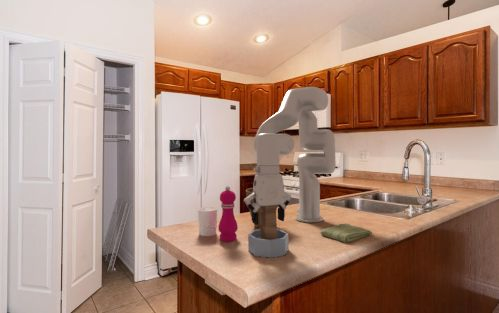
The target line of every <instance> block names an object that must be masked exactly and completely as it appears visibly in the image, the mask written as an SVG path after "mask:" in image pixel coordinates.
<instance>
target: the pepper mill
mask: <svg viewBox="0 0 499 313" xmlns="http://www.w3.org/2000/svg"><path fill="white" fill-rule="evenodd" d="M224 189H225V190H223V191H222V192H221V193H220V195H219V200H220V202H221V203H220V207H221V209H222V213H221V217H220V220H219V224H218V231H219V233H220V234H219V240H220V241H221V242H225V243H228V242H229V243H231V242H234V240H235V241H236V240H237V231H238V228H239V227H238V223H237V220H236V218H235V214H234V213H235V212H234V208H235V201H236V193H235V192H234V191H232V190H231V186H228V185H227V186H225V188H224ZM230 241H231V242H230Z"/></svg>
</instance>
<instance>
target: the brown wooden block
mask: <svg viewBox="0 0 499 313" xmlns="http://www.w3.org/2000/svg"><path fill="white" fill-rule="evenodd" d="M259 229H260V239H267V240H273V239H277V229H278V228H277V210H276V205H273V206H260V228H259Z"/></svg>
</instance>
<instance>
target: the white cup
mask: <svg viewBox="0 0 499 313" xmlns="http://www.w3.org/2000/svg"><path fill="white" fill-rule="evenodd" d="M197 223H198V224H197V225H198V235H199V236H202V237H210V236H211V237H212V236H215V235H217V227H218V225H217V224H218V208H217V207H213V206H205V207H199V208H197Z"/></svg>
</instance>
